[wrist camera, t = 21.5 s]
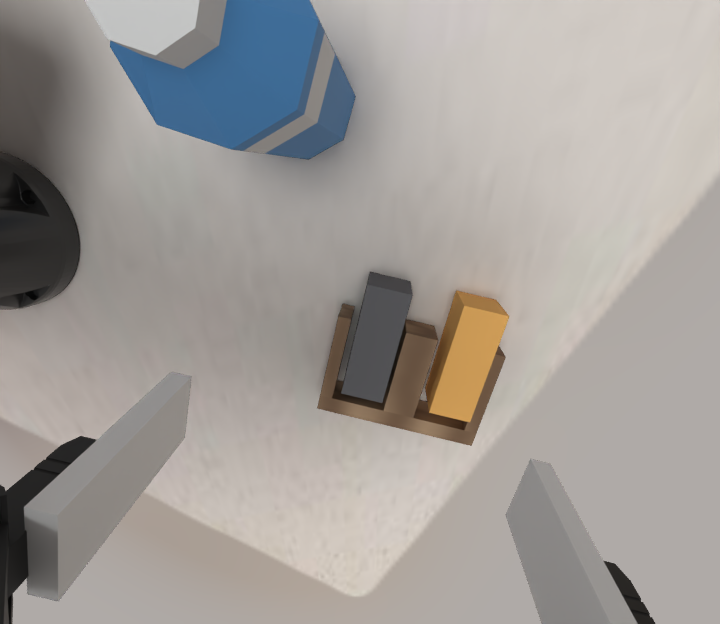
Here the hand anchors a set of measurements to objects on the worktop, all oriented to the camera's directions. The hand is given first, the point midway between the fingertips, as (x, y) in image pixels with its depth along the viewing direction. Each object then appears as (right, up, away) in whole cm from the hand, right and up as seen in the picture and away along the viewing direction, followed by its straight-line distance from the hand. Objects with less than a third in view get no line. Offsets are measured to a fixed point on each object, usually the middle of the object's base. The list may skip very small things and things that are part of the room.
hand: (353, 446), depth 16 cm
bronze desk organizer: (+5, -1, +28) cm, 28 cm away
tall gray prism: (+2, +4, +27) cm, 27 cm away
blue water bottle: (-5, +23, +21) cm, 32 cm away
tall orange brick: (+10, +2, +27) cm, 29 cm away
